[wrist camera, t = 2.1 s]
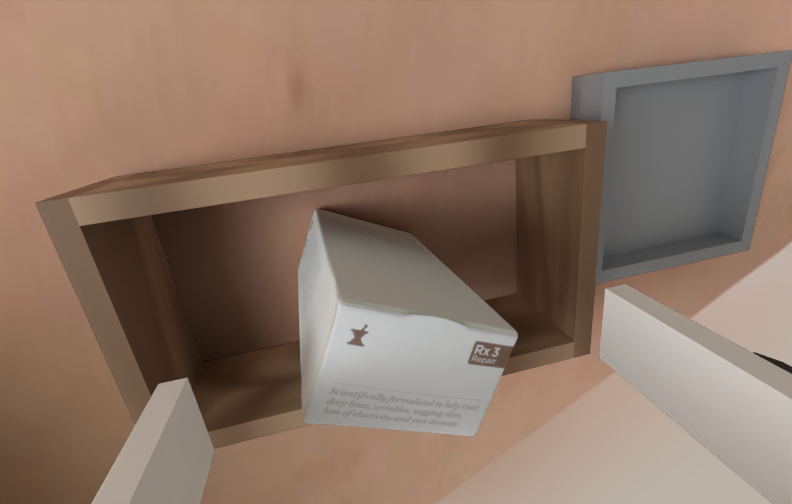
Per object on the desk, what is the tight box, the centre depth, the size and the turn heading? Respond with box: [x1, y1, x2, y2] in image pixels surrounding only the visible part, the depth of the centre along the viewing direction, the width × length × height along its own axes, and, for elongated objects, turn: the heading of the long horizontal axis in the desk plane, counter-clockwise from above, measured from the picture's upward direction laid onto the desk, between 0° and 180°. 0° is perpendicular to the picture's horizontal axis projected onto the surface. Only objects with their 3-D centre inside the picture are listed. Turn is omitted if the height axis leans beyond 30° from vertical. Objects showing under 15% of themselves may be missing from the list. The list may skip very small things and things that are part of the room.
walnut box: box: [35, 120, 607, 449], centre depth 20 cm, size 22×12×6 cm, turn 97°
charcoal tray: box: [571, 50, 792, 284], centre depth 24 cm, size 12×12×2 cm
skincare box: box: [297, 209, 518, 437], centre depth 17 cm, size 6×4×12 cm
